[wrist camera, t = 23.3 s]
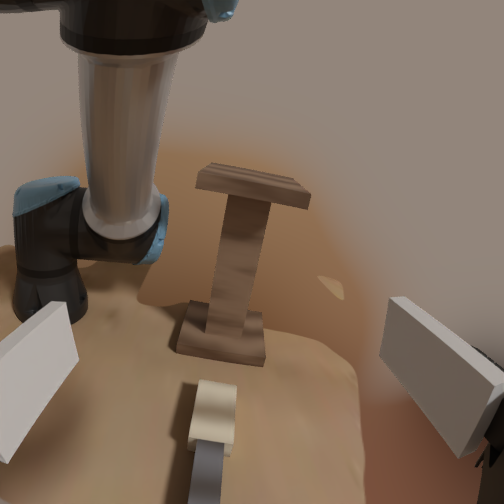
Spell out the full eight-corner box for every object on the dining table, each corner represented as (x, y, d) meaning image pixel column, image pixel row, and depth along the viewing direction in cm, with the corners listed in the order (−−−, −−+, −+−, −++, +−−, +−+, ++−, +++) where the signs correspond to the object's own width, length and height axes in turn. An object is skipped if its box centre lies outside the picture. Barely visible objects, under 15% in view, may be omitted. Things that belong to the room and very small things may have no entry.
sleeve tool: (197, 393, 40) (199, 379, 39) (233, 399, 40) (236, 385, 39) (172, 537, 19) (172, 529, 18) (224, 544, 20) (228, 537, 19)
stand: (189, 306, 61) (211, 162, 52) (259, 318, 62) (292, 178, 53) (174, 356, 46) (197, 172, 37) (263, 371, 47) (311, 194, 38)
